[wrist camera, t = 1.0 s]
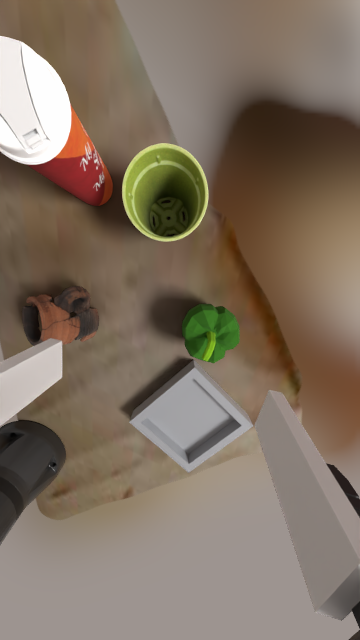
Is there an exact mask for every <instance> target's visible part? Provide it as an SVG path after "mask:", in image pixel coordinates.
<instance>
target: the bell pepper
mask: <svg viewBox="0 0 360 640" xmlns="http://www.w3.org/2000/svg"><path fill="white" fill-rule="evenodd" d="M182 336H183V337H184V338H185V347H186V349H187V350H188V352H189V354H190V356H192V357H195V358H197V359H200V360H203V361H207V362H211V363H215V362H217V361H218V360H220V359H222V358H223V357H224V355H225V350H230V349H233V348H234V347H235V346H236V345H237V344H238V343H239V325H238V323H237V320H236V318H235V316H234V315H233V314H232V313H231V312H230V311H228V310H227V309H226V308H224V307H223V306H219V307H214V306H213V305H211V304H198V305H197V306H195V307H193V308H192V309H190V310H189V311H188V313H187V315H186V316H185V318H184V320H183V322H182Z"/></svg>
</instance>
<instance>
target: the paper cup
mask: <svg viewBox="0 0 360 640" xmlns="http://www.w3.org/2000/svg"><path fill="white" fill-rule="evenodd" d="M0 151H1V152H2V153H3V154H4V155H6V156H7V157H9V158H10V159H12V160H14V161H16V162H19V163H22V164H26V165H28V166H29V167H31V168H32V169H34V170H35V171H37V172H39V173H40V174H42V175H43V176H45V177H46V178H48V179H49V180H51V181H52V182H54V183H56V184H57V185H59V186H60V187H62V188H63V189H65V190H66V191H68V192H70V193H71V194H73V195H74V196H76V197H77V198H79V199H81V200H82V201H84V202H86V203H88V204H90V205H93V206H100V205H103V204H105V203H106V202H107V201H108V200H109V199H110V197H111V195H112V191H113V183H112V179H111V176H110V174H109V172H108V170H107V168H106V166H105V165H104V163H103V161H102V159H101V157H100V156H99V154H98V152H97V150H96V148H95V147H94V145H93V143H92V141H91V140H90V138H89V136H88V134H87V133H86V131H85V129H84V127H83V125H82V124H81V122H80V120H79V118H78V117H77V115H76V113H75V111H74V110H73V108H72V106H71V104H70V102H69V98H68V94H67V92H66V89H65V87H64V85H63V83H62V81H61V79H60V77H59V76H58V74H57V73H56V71H55V70H54V69H53V68H52V66H51V65H50V64H49V63H48V62H47V61H46V60H44V59H43V58H42V57H41V56H39V55H38V54H36V53H35V52H34V51H33V50H32V49H31V48H30V47H28V46H27V45H26V44H24V43H23V42H20V41H18V40H15V39H12V38H8V37H3V36H0Z"/></svg>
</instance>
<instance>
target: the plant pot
mask: <svg viewBox="0 0 360 640" xmlns="http://www.w3.org/2000/svg"><path fill="white" fill-rule="evenodd" d="M122 198H123V204H124V207H125V210H126V213H127V215H128V217H129V219H130V220H131V222H132V223H133V225H134V226H135V227H136V228H137V229H138V230H139V231H140V232H141V233H143V234H144V235H146V236H147V237H149V238H151V239H154V240H157V241H164V242H168V241H175V240H179V239H181V238H183V237H185V236H187V235H189V234H190V233H191V232H192V231H193V230H194V229H195V228H196V227H197V226H198V225H199V223H200V222H201V220H202V218H203V216H204V214H205V211H206V208H207V204H208V186H207V181H206V177H205V175H204V172H203V170H202V168H201V166H200V164H199V163H198V162H197V160H196V159H195V158H194V157H193V156H192V155H191V154H190V153H189V152H188V151H186V150H184V149H183V148H181V147H179V146H176V145H172V144H165V143H162V144H156V145H152V146H149V147H147V148H145V149H144V150H142V151H141V152H140V153H138V154H137V155H136V156H135V157H134V159H133V160H132V161H131V163H130V164H129V166H128V168H127V170H126V172H125V175H124V179H123V184H122ZM166 200H169V201H170V203H164V204H162V202H163V201H166ZM182 212H184V213H185V221H183V214H182ZM153 217H155V225H156V226H154V224H153V221H152V218H153ZM167 217H170V220H167ZM174 233H175V236H171V237H168V236H167V234H174Z"/></svg>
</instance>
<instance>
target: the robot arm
mask: <svg viewBox="0 0 360 640" xmlns="http://www.w3.org/2000/svg"><path fill="white" fill-rule="evenodd" d="M61 378H62V341H61V340H57V339H52V338H50V339H48V340H46V341H44V342H42V343H40V344H37V345H35V346H33V347H31V348H29V349H27V350H25V351H23V352H21V353H19V354H16V355H14V356H12V357H10V358H8V359H6V360H4V361H2V362H0V426H1V425H3V424H4V423H5V422H6V421H8V420H9V419H10V418H11V417H13V416H14V415H15V414H17V413H18V412H19V411H20V410H22V409H23V408H24V407H25V406H27V405H28V404H29V403H30V402H32V401H33V400H34V399H35V398H37V397H38V396H39V395H40V394H42V393H43V392H44V391H46V390H47V389H48V388H49V387H51V386H52V385H53V384H54V383H56V382H57V381H58V380H59V379H61ZM255 428H256V431H257V434H258V437H259V440H260V443H261V447H262V450H263V453H264V456H265V459H266V462H267V465H268V468H269V471H270V474H271V477H272V480H273V483H274V487H275V490H276V493H277V496H278V499H279V502H280V505H281V508H282V511H283V514H284V517H285V521H286V524H287V527H288V530H289V533H290V536H291V539H292V542H293V545H294V548H295V551H296V554H297V557H298V561H299V564H300V567H301V570H302V573H303V576H304V579H305V582H306V585H307V588H308V591H309V595H310V598H311V601H312V604H313V607H314V610H315V612H316V613H319V614H322V615H325V616H329V617H332V618H335V619H338V620H343V619H344V618H345V617H346V616H347V615H348V614H349V613H350V612H351V611H352V612H353V614H354V616H355V619H356V621H357V623H358V626H359V628H360V499H359V496H358V494H357V493H356V491H355V490H354V489H353V487H352V486H351V484H350V483H349V481H348V480H347V479H346V478H345V477H344V476H343V475H342V473H340V471H339V470H338V469H337V468H336V467H335V466H334V465H330V464H326V463H325V461H324V460H323V458H322V456H321V455H320V453H319V452H318V450H317V449H316V447H315V445H314V444H313V442H312V440H311V439H310V437H309V436H308V434H307V432H306V431H305V429H304V428H303V426H302V424H301V423H300V421H299V419H298V418H297V416H296V415H295V413H294V411H293V410H292V408H291V407H290V405H289V403H288V402H287V400H286V399H285V397H284V395H283V394H282V393H280V392H276V391H271V390H269V391H268V394H267V396H266V399H265V401H264V404H263V406H262V409H261V411H260V413H259V416H258V418H257V421H256V423H255ZM65 459H66V452H65V448H64V445H63V443H62V442H61V440H60V439H59V437H58V436H57V435H56V434H55V433H54V432H52V431H51V430H50V429H48V428H47V427H45V426H43V425H40V424H38V423H34V422H30V421H15V422H11V423H8V424H6V425H4V426H2V427H1V428H0V545H1V543H2V541H3V540H4V539H5V537H6V536H7V534H8V533H9V531H10V530H11V528H12V527H13V525H14V524H15V522H16V520H17V519H18V518H19V516H20V515H21V513H22V512H23V510H24V509H25V508H26V507H27V506H28V505H29V504H30V503H31V502H32V501H33V500H34V499H35V498H36V497H37V496H38V495H39V494H40V493H41V492H42V491H43V490H44V489H45V488H46V487H47V486H48V485H49V484H50V483H51V482H52V481H53V480H54V479H55V478H56V477H57V475H58V473H59V472H60V470H61V469H62V467H63V465H64V463H65ZM349 640H360V630H359V631H358V632H357V633H356V634H354V635H353V636H352V637H351V638H350V639H349Z"/></svg>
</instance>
